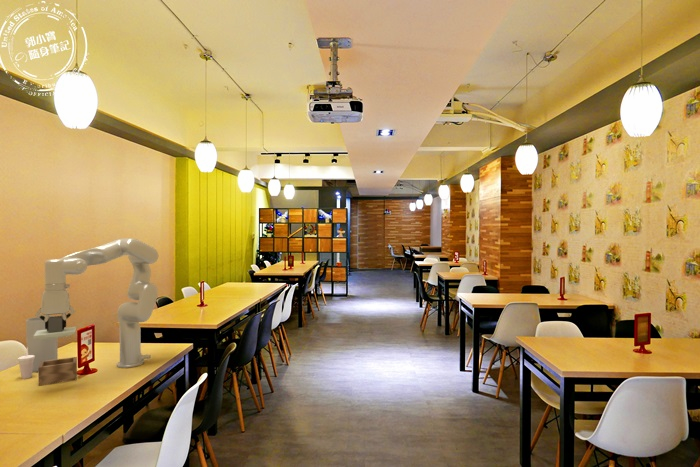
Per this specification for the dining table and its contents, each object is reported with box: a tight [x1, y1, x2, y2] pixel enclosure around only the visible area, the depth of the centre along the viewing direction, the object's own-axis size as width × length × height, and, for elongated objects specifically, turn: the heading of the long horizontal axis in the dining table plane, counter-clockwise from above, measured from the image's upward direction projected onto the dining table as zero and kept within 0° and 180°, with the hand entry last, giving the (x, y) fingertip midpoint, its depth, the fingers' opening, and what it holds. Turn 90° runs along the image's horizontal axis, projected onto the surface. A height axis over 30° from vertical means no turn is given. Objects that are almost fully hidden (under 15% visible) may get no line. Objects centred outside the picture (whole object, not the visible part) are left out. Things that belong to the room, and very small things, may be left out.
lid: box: [34, 315, 77, 340], centre depth 186 cm, size 14×11×8 cm
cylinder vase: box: [25, 315, 59, 373], centre depth 214 cm, size 12×12×25 cm
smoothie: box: [17, 346, 35, 380], centre depth 201 cm, size 6×6×14 cm
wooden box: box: [38, 356, 78, 386], centre depth 198 cm, size 14×11×8 cm
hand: (55, 329), depth 186 cm, fingers closed on lid, 4 cm apart
